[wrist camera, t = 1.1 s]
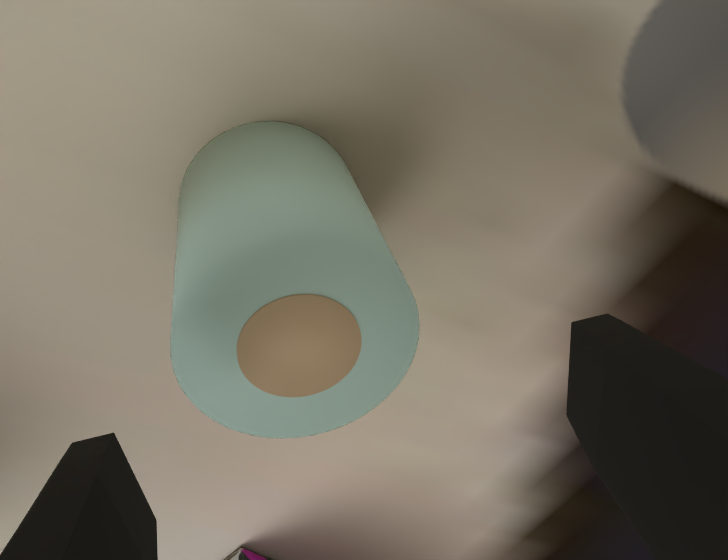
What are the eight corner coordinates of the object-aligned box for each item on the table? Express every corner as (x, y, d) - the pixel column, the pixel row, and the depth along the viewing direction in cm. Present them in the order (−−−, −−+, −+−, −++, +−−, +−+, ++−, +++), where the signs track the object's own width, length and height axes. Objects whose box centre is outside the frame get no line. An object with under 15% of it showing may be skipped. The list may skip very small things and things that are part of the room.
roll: (212, 299, 21) (216, 467, 15) (152, 148, 18) (128, 280, 12) (368, 255, 21) (434, 402, 15) (335, 100, 18) (401, 207, 12)
